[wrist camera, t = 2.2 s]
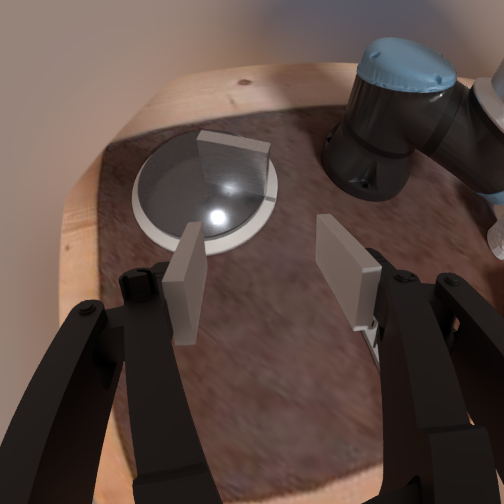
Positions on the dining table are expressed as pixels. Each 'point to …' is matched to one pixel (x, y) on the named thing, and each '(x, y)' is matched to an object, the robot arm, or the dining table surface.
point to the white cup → (497, 238)
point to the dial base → (221, 243)
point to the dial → (204, 183)
